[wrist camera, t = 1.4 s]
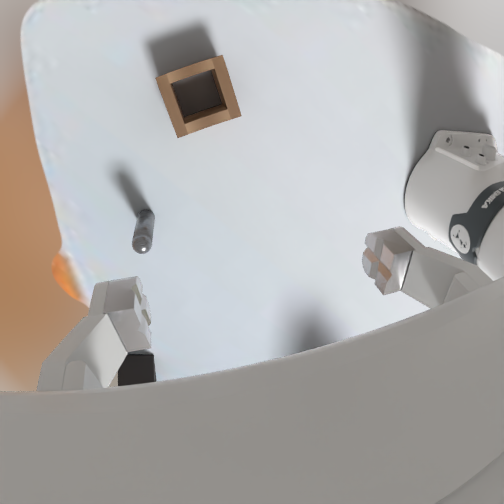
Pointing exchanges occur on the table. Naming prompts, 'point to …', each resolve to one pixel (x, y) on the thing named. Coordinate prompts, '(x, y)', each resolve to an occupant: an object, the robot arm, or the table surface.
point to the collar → (205, 117)
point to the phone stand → (137, 370)
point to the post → (143, 232)
